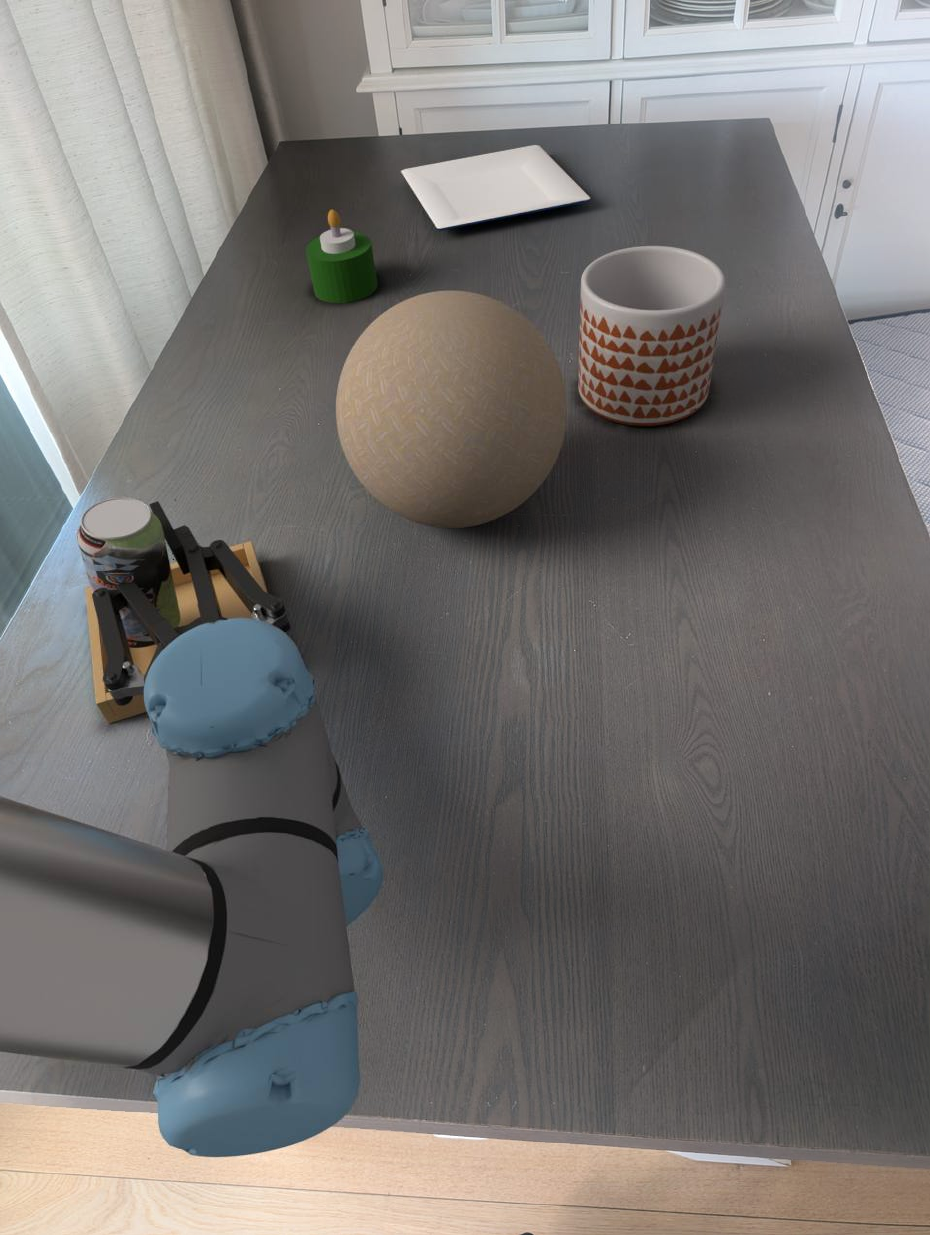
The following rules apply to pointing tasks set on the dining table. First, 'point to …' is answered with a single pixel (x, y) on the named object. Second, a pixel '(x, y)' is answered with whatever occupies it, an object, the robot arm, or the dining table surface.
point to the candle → (341, 264)
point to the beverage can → (129, 559)
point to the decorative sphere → (451, 409)
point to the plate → (492, 187)
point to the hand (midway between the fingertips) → (137, 524)
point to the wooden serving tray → (188, 613)
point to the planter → (648, 334)
